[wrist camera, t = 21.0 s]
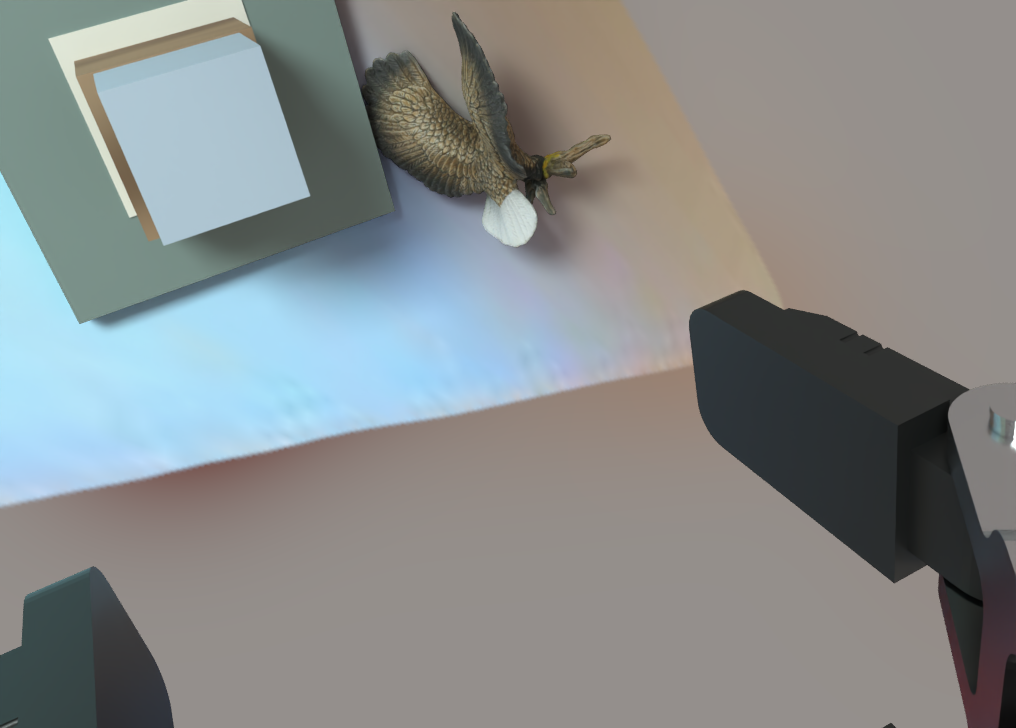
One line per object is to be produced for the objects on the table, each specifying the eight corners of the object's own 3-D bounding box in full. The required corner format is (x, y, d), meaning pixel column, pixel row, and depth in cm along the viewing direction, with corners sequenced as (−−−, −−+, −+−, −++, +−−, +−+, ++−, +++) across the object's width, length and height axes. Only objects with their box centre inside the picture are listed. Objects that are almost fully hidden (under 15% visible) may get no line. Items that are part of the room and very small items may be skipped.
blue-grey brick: (92, 73, 30) (97, 92, 27) (239, 32, 31) (260, 45, 28) (153, 213, 33) (163, 245, 29) (285, 169, 34) (310, 196, 31)
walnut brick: (73, 61, 33) (75, 76, 30) (233, 17, 35) (251, 27, 31) (140, 212, 36) (148, 241, 33) (284, 165, 38) (305, 189, 34)
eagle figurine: (592, 76, 42) (455, -36, 36) (629, 190, 39) (484, 89, 32) (476, 169, 46) (335, 83, 40) (500, 281, 42) (349, 206, 36)
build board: (-104, -41, 31) (-110, -40, 30) (287, -136, 34) (294, -138, 33) (79, 313, 38) (79, 325, 37) (387, 203, 42) (395, 211, 41)
